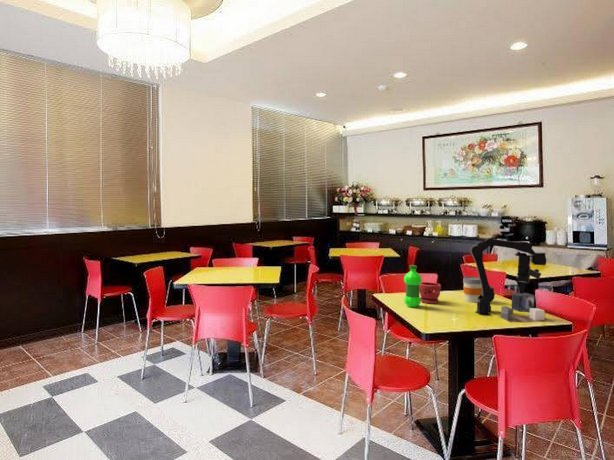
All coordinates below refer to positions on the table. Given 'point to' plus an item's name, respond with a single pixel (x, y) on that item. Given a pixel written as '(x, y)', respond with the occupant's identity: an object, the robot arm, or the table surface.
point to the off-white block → (536, 314)
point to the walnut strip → (508, 315)
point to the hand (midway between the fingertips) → (522, 292)
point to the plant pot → (429, 292)
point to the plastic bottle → (412, 287)
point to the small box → (522, 301)
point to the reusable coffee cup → (472, 289)
